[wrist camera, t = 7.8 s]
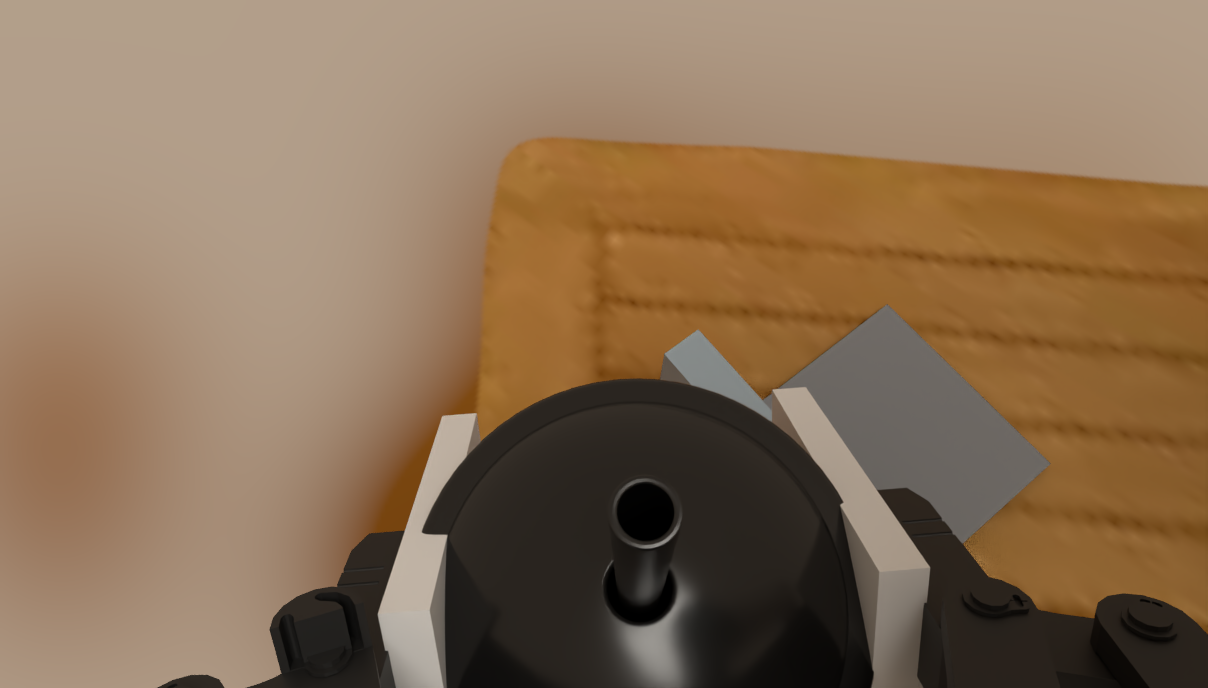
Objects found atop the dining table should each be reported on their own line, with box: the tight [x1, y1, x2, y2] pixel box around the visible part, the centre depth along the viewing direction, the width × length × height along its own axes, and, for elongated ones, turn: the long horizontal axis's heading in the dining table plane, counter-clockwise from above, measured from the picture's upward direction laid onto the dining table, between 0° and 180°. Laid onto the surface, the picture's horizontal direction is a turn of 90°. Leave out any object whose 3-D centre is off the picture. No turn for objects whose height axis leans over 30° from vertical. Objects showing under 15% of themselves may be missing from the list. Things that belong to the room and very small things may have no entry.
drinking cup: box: [422, 379, 874, 688], centre depth 16 cm, size 8×8×20 cm
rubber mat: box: [763, 304, 1050, 544], centre depth 43 cm, size 12×12×1 cm
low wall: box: [660, 330, 923, 688], centre depth 37 cm, size 2×18×9 cm, turn 38°
